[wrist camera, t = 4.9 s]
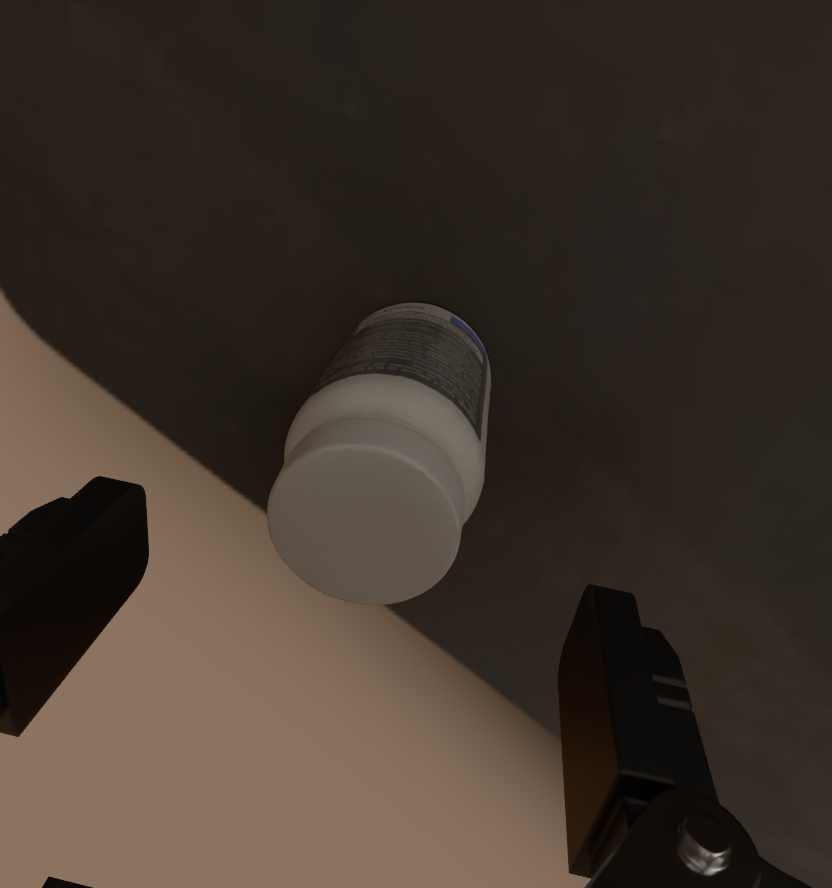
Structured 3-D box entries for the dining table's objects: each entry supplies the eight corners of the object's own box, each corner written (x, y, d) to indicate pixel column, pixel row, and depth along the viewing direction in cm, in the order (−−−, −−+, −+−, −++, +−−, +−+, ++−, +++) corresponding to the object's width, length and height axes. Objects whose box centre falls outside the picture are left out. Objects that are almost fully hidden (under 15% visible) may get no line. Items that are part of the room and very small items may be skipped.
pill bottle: (322, 319, 20) (208, 448, 13) (473, 283, 19) (445, 403, 11) (367, 452, 22) (292, 632, 15) (506, 427, 21) (501, 608, 13)
